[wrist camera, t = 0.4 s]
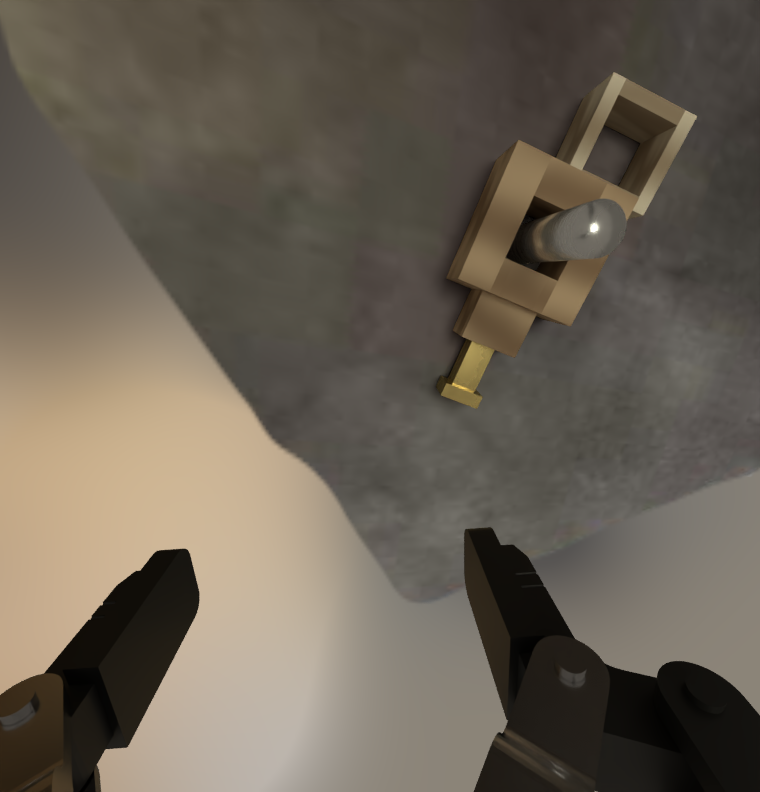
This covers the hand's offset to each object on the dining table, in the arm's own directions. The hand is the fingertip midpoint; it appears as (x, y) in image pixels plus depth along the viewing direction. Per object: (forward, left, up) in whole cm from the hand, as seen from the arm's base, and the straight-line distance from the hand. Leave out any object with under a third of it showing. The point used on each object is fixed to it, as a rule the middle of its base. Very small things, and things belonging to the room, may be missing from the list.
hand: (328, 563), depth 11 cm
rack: (-23, +13, -27) cm, 37 cm away
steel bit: (-15, +10, -27) cm, 32 cm away
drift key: (-5, +10, -26) cm, 29 cm away
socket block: (-13, +10, -27) cm, 31 cm away
